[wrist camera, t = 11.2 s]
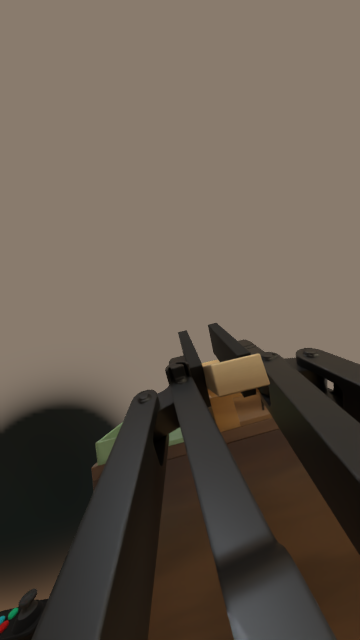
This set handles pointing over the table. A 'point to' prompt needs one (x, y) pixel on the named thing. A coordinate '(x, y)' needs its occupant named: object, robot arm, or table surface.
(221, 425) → the brown wooden open box
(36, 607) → the controller
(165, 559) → the stand
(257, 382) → the spoon
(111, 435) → the tray
